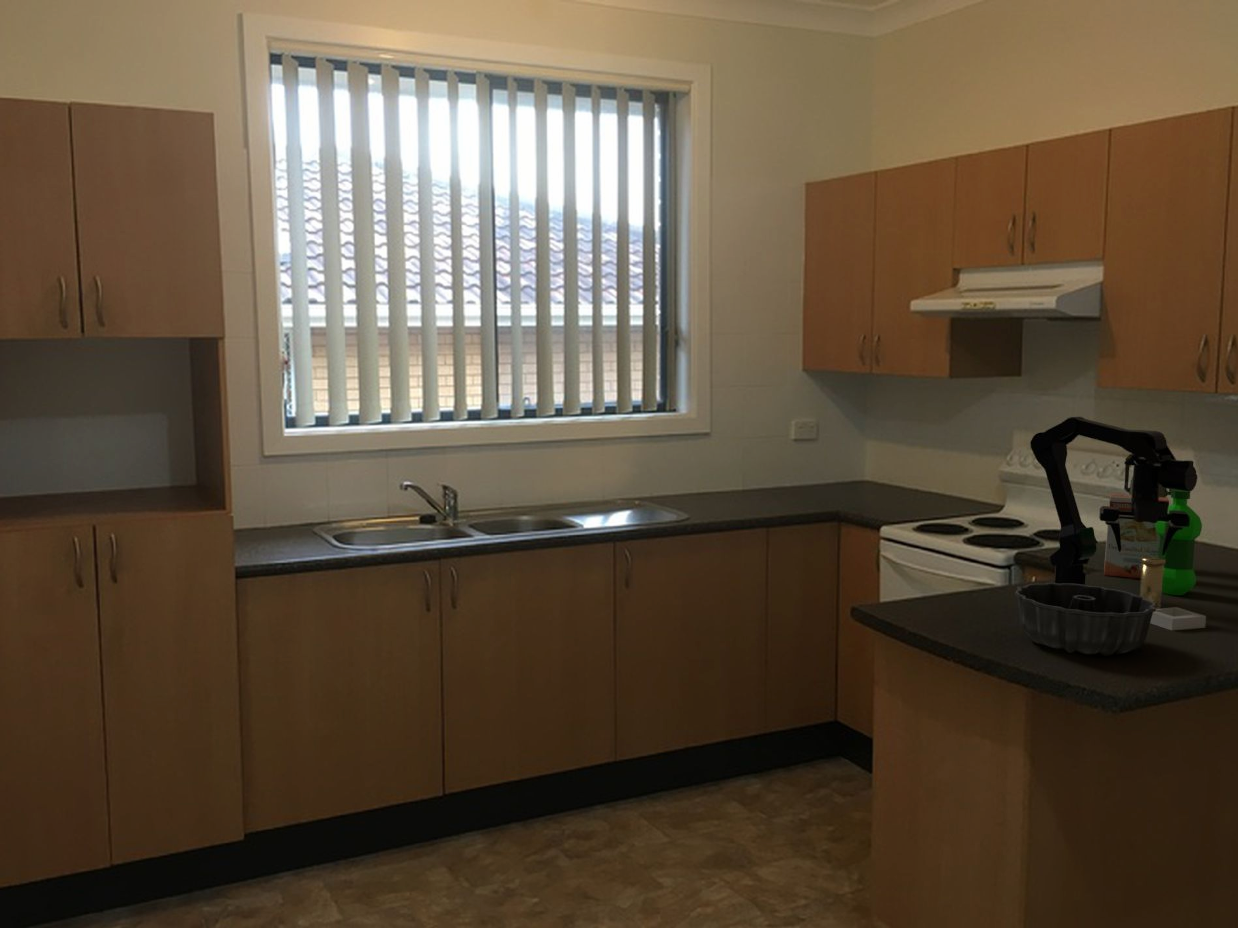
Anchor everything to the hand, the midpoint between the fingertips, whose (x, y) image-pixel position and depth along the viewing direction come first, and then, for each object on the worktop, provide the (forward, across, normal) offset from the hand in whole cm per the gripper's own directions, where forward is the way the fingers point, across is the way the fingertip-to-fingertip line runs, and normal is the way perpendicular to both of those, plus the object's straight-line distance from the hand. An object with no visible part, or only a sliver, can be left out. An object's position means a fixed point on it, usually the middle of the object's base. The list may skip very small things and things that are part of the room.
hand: (1141, 553), depth 273 cm
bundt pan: (+12, -13, -43) cm, 47 cm away
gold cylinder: (+12, +2, -12) cm, 17 cm away
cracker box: (+12, +1, +33) cm, 35 cm away
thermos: (+12, +4, +47) cm, 49 cm away
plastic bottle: (+12, +9, +17) cm, 23 cm away
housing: (+12, +6, -17) cm, 22 cm away
